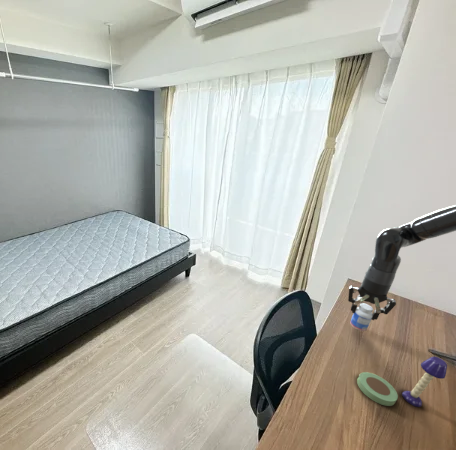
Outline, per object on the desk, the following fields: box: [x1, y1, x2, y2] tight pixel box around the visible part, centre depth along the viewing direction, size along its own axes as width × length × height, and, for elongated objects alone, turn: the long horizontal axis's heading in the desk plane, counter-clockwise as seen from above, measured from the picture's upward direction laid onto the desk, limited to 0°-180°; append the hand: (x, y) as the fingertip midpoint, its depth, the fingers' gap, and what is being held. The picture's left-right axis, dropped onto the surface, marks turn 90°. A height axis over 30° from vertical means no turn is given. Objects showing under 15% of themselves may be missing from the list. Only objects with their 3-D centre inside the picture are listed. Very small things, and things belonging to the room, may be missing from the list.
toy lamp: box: [401, 356, 448, 408], centre depth 69 cm, size 5×5×17 cm
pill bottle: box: [349, 302, 374, 332], centre depth 95 cm, size 6×5×10 cm
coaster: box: [356, 371, 399, 407], centre depth 74 cm, size 9×9×2 cm
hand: (362, 315), depth 95 cm, fingers closed on pill bottle, 5 cm apart
